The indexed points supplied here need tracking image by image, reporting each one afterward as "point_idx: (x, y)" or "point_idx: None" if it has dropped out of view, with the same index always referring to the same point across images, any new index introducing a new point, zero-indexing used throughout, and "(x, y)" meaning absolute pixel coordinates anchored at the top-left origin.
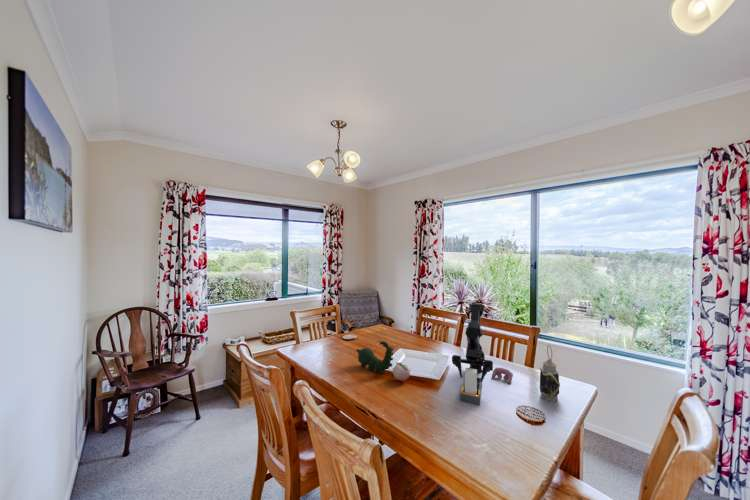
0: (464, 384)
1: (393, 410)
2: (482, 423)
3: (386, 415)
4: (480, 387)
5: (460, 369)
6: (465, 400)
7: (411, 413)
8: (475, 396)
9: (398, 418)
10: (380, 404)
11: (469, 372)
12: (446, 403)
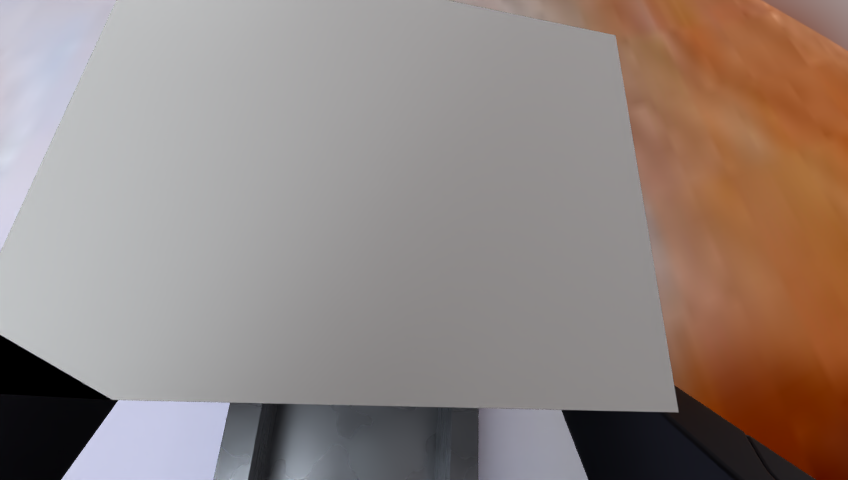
0: (454, 474)
1: (763, 53)
2: None
3: (763, 15)
4: (224, 475)
5: (739, 467)
6: None
7: (684, 44)
8: None
9: (712, 3)
10: (837, 87)
11: (444, 26)
12: None
